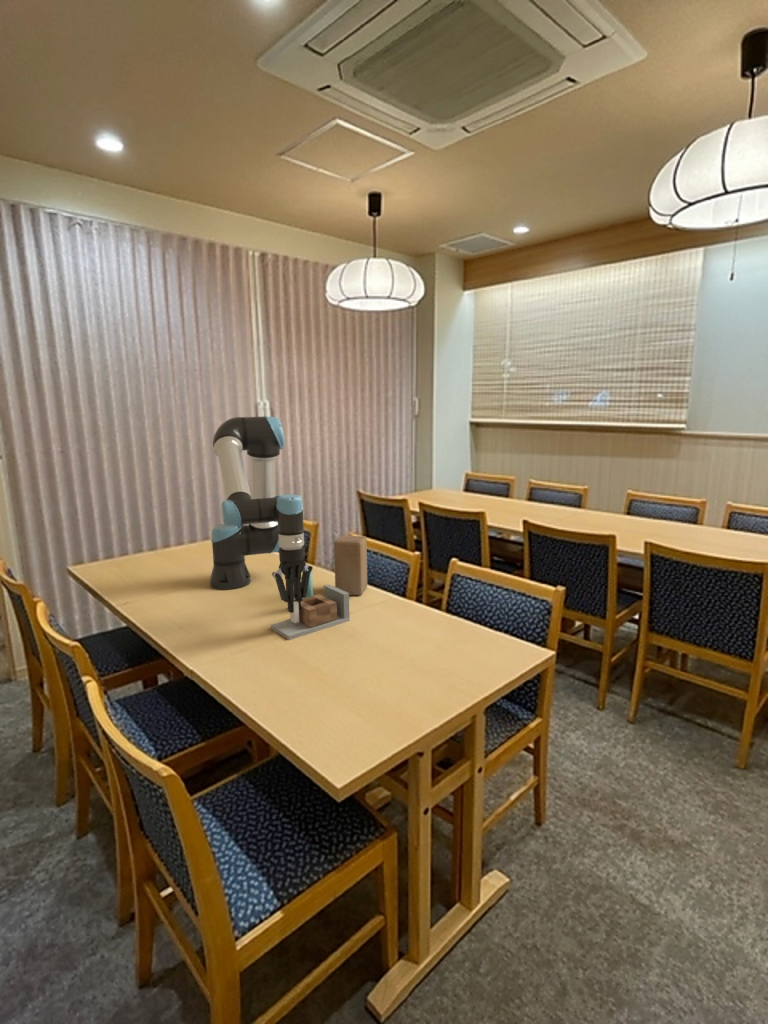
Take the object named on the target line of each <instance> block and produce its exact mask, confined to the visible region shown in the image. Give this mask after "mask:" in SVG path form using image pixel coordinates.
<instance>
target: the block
mask: <svg viewBox="0 0 768 1024" xmlns="http://www.w3.org/2000/svg"><path fill="white" fill-rule="evenodd" d="M367 539H368V538H367V536H365V535H343V534H342V535H340V537H338V538H337V539H336V540H335V541H334V542H333V549H334V550H333V551H334V585H335V586H334V587H336V588H338V589H341V590H343V591H345V592H348V593H349V596H362V595H363V593H364V592H365V591H366V589H367V588H368V553H367V552H368V551H367V550H368V544H367V543H368V542H367V541H368V540H367Z"/></svg>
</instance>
